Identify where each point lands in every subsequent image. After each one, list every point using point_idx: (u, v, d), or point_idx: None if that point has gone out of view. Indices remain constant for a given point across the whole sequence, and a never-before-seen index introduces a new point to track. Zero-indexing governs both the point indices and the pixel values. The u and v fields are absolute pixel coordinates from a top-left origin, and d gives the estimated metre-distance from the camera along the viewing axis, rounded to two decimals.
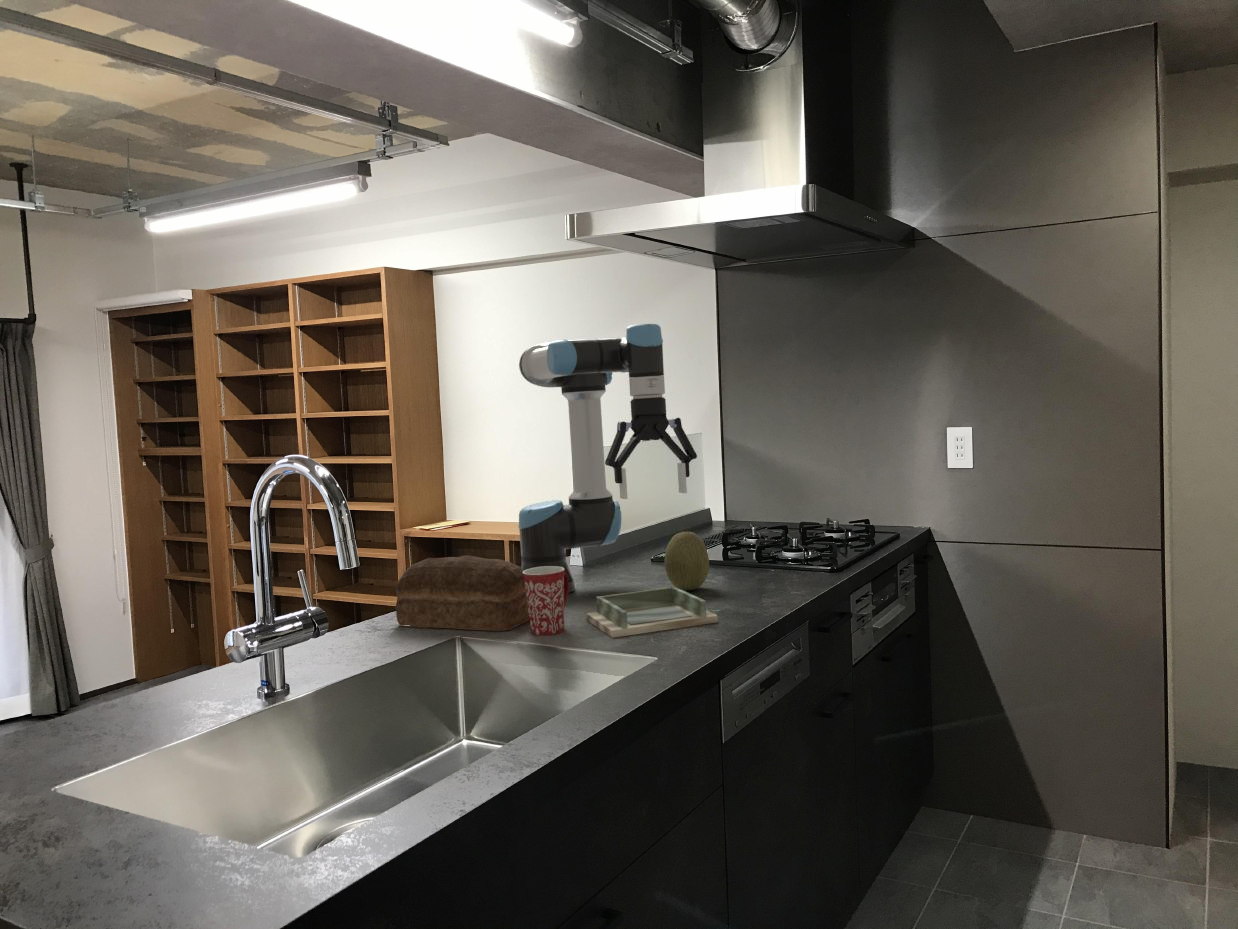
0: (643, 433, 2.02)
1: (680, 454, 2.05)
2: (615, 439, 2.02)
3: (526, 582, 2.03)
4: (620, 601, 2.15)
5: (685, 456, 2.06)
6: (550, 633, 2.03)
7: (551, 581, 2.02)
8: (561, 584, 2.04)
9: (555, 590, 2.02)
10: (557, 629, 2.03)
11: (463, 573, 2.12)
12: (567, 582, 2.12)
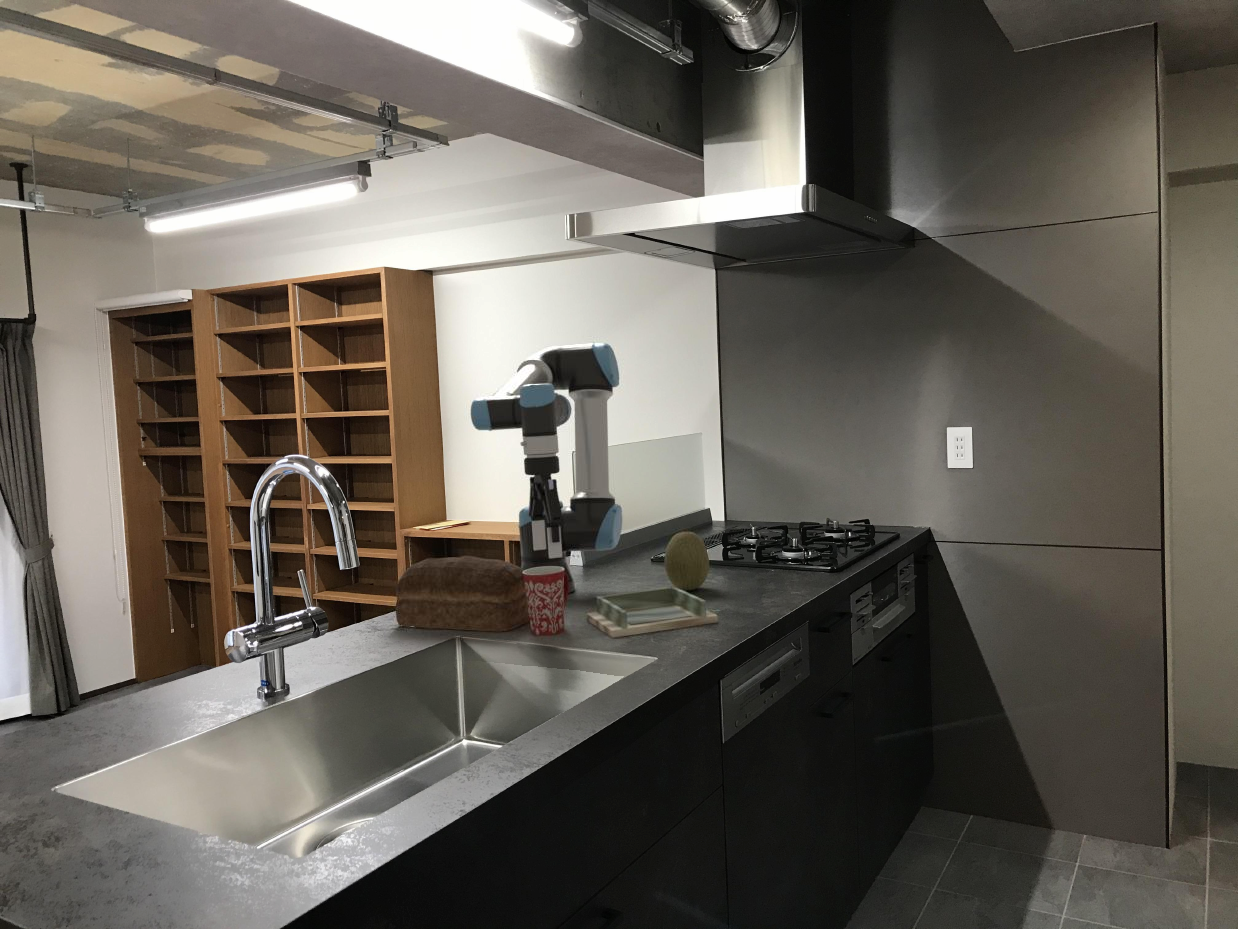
0: (533, 491, 2.07)
1: (546, 517, 1.99)
2: None
3: (526, 582, 2.03)
4: (620, 601, 2.15)
5: (548, 520, 1.98)
6: (550, 633, 2.03)
7: (551, 581, 2.02)
8: (561, 584, 2.04)
9: (555, 590, 2.02)
10: (557, 629, 2.03)
11: (463, 573, 2.11)
12: (567, 582, 2.12)
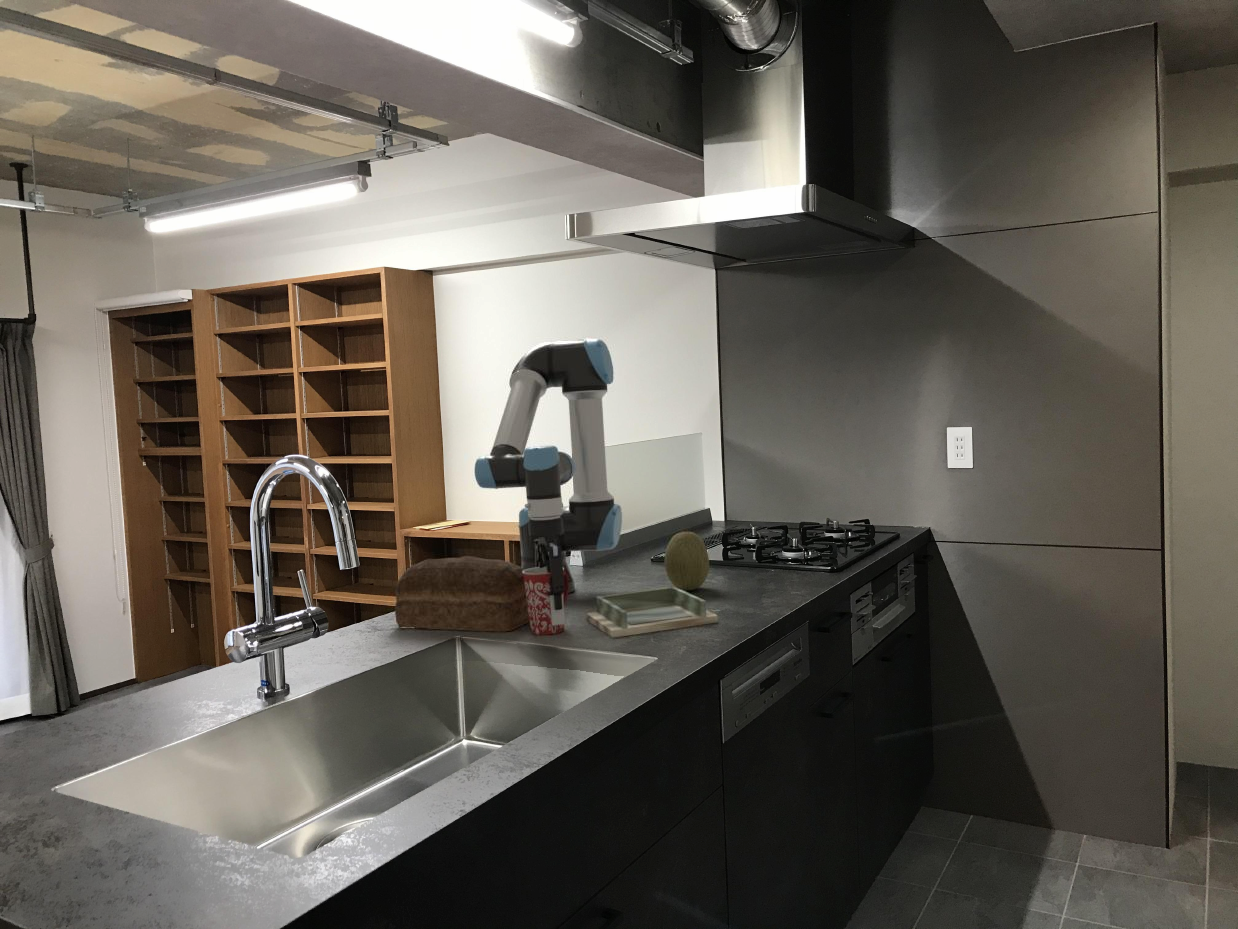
0: (538, 552, 2.07)
1: None
2: None
3: (526, 582, 2.03)
4: (620, 601, 2.15)
5: (551, 588, 2.01)
6: (550, 633, 2.03)
7: None
8: None
9: None
10: (557, 629, 2.03)
11: (465, 574, 2.11)
12: (567, 582, 2.12)
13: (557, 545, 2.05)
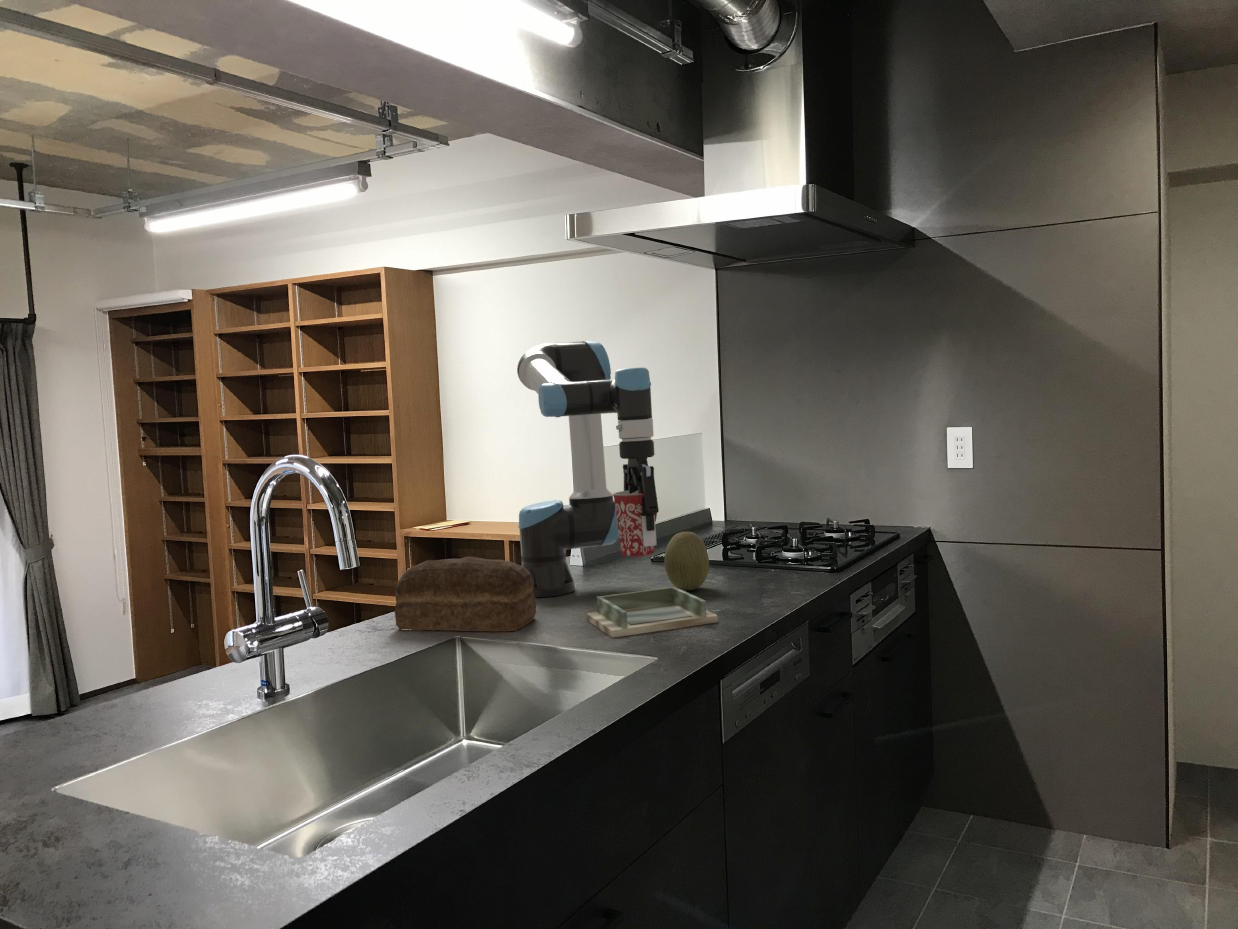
0: (628, 475, 2.07)
1: None
2: None
3: (617, 503, 2.04)
4: (620, 601, 2.15)
5: (643, 509, 2.01)
6: (641, 554, 2.03)
7: None
8: None
9: None
10: (648, 550, 2.03)
11: (468, 574, 2.10)
12: None
13: None
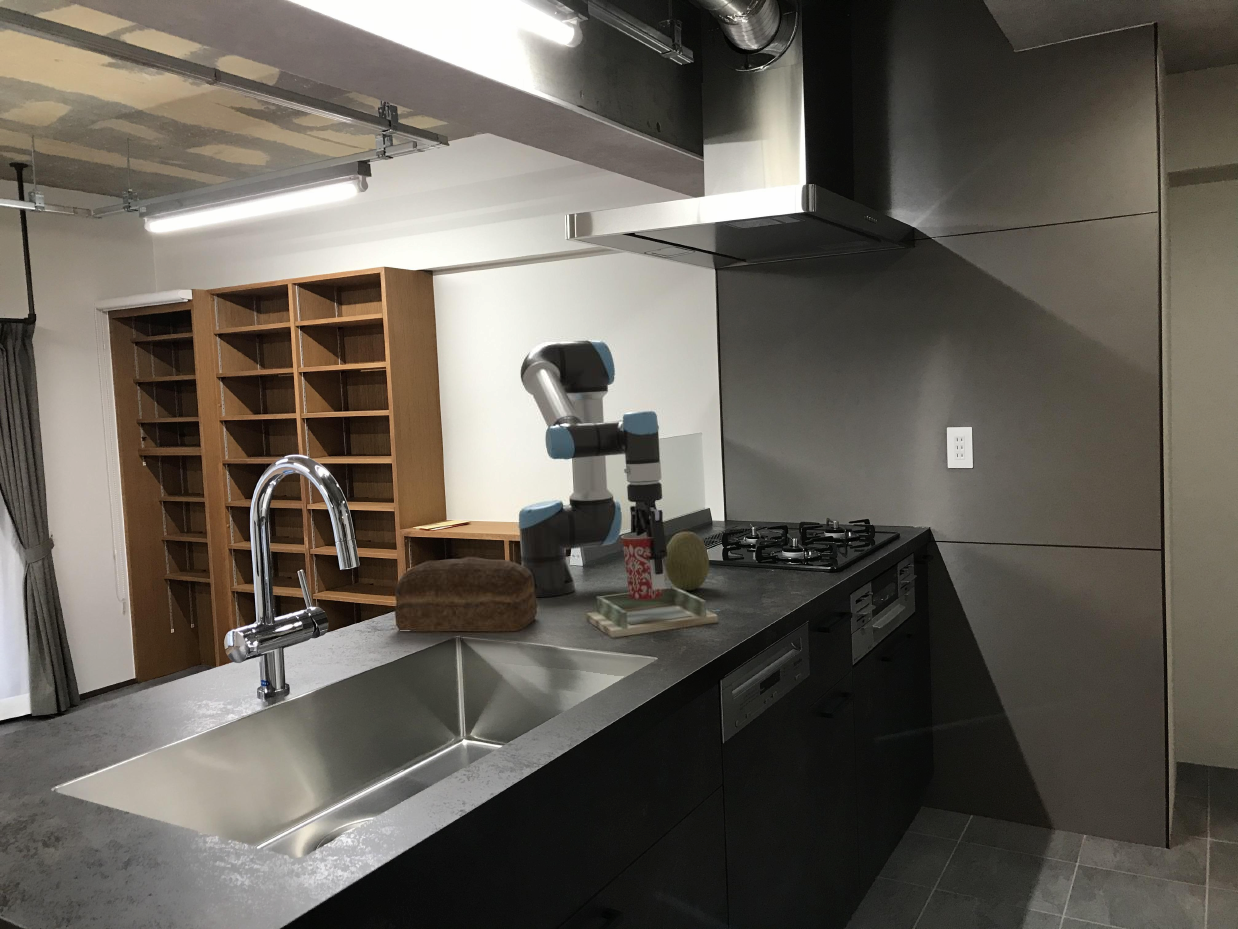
0: (636, 518, 2.08)
1: (650, 548, 2.03)
2: None
3: (625, 546, 2.04)
4: (620, 601, 2.15)
5: (652, 552, 2.02)
6: (650, 597, 2.04)
7: None
8: None
9: None
10: (656, 593, 2.04)
11: (470, 574, 2.10)
12: None
13: None
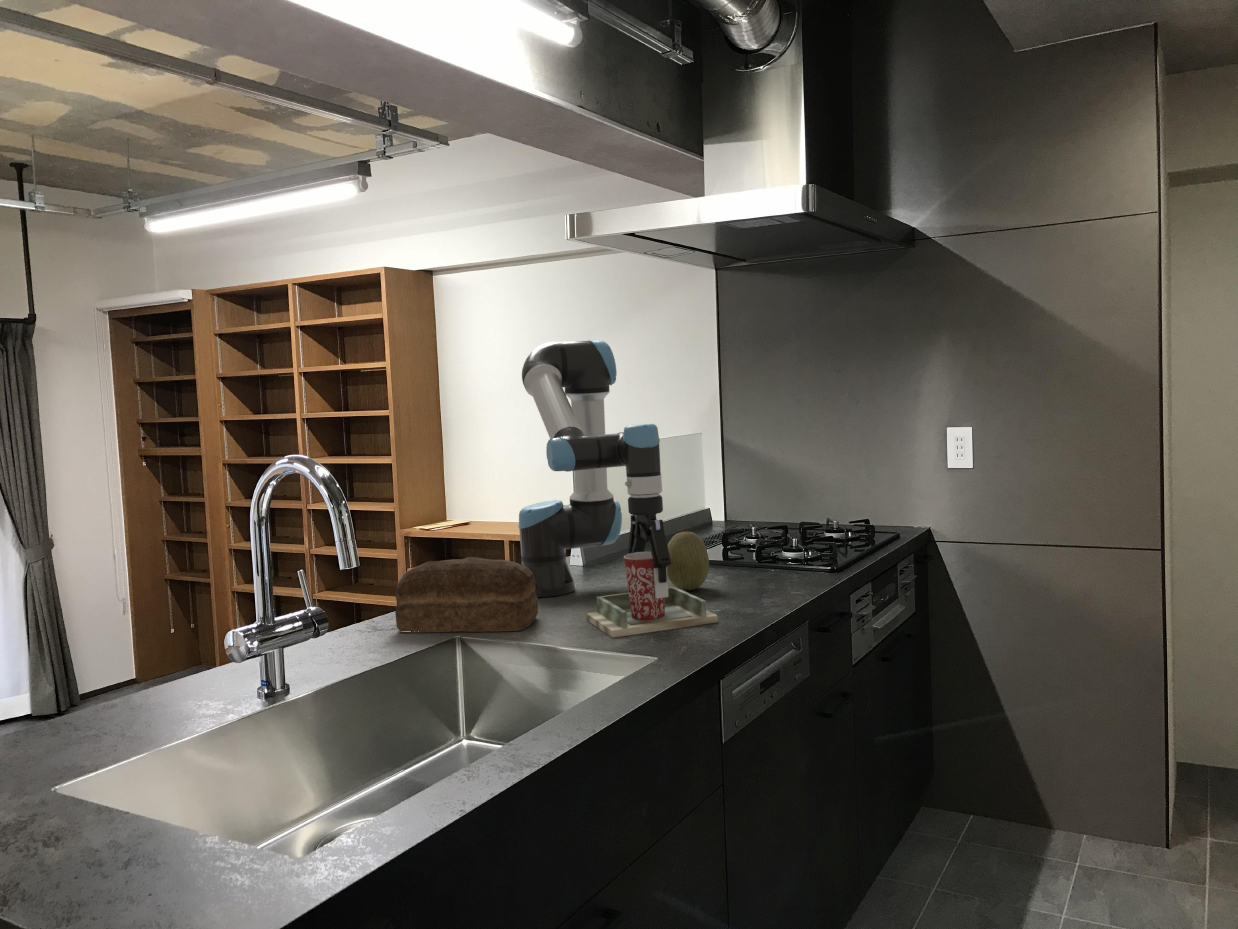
0: (636, 529, 2.09)
1: (653, 558, 2.01)
2: None
3: (628, 567, 2.04)
4: (620, 601, 2.15)
5: (655, 561, 2.00)
6: (652, 618, 2.03)
7: None
8: None
9: None
10: (659, 614, 2.04)
11: (473, 574, 2.09)
12: None
13: None
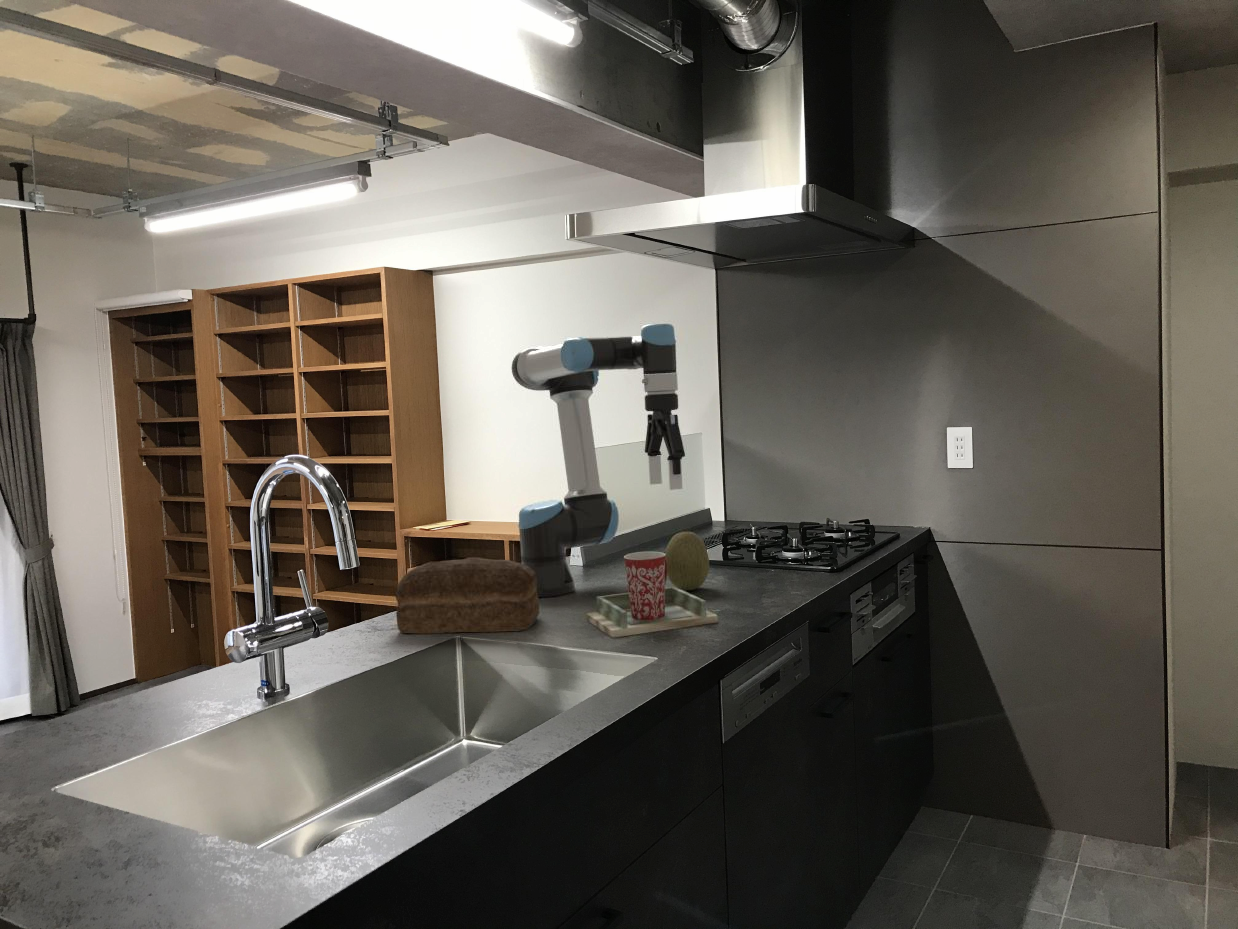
0: (652, 427, 2.17)
1: (668, 451, 2.10)
2: None
3: (628, 567, 2.04)
4: (620, 601, 2.15)
5: (670, 453, 2.09)
6: (652, 618, 2.03)
7: (654, 566, 2.02)
8: (663, 569, 2.04)
9: (657, 575, 2.03)
10: (659, 614, 2.04)
11: (476, 575, 2.09)
12: (665, 568, 2.12)
13: None
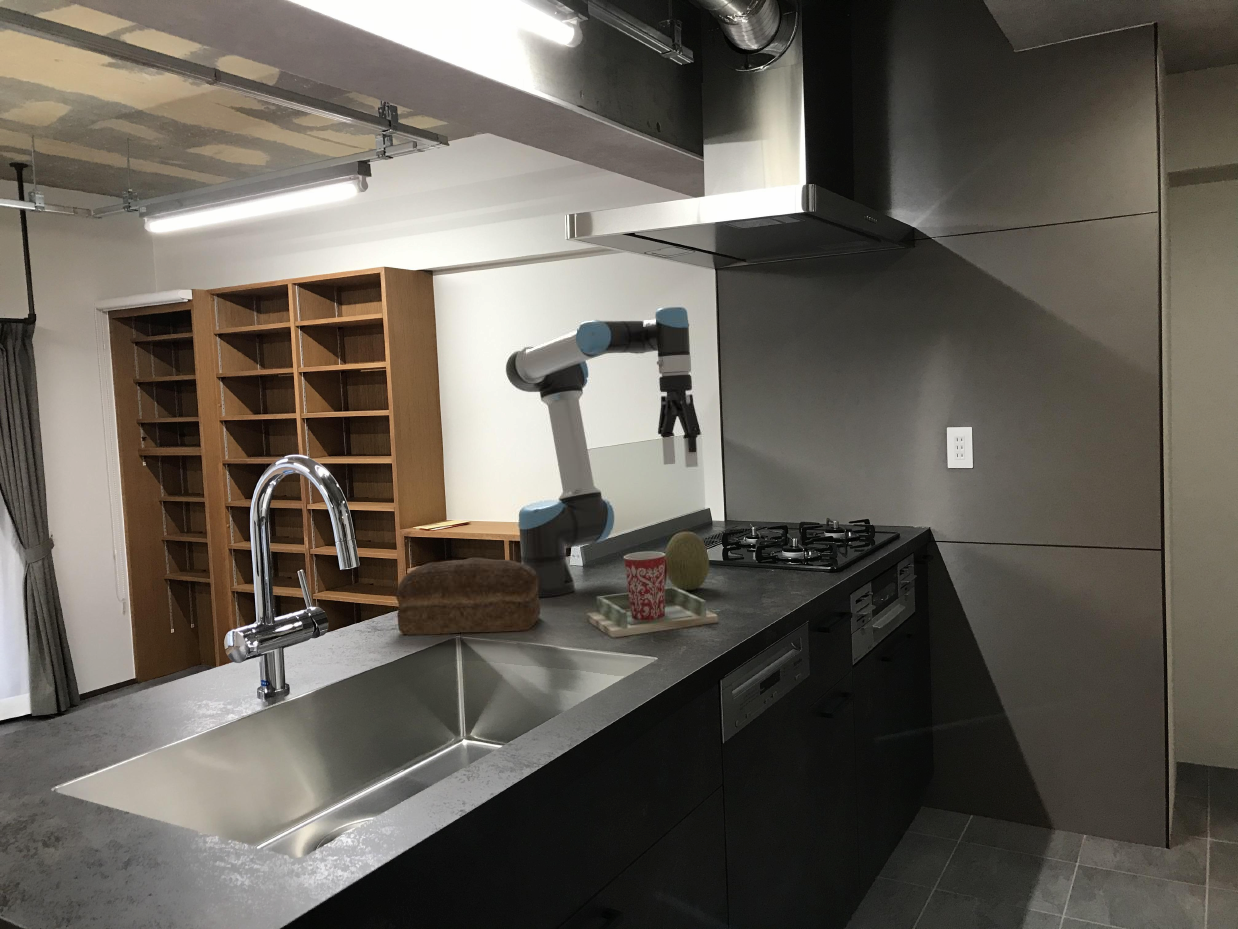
0: (666, 407, 2.23)
1: (683, 430, 2.16)
2: None
3: (628, 567, 2.04)
4: (620, 601, 2.15)
5: (685, 432, 2.15)
6: (652, 618, 2.03)
7: (653, 566, 2.02)
8: (662, 569, 2.04)
9: (657, 575, 2.03)
10: (659, 614, 2.04)
11: (478, 575, 2.08)
12: (665, 567, 2.12)
13: None
